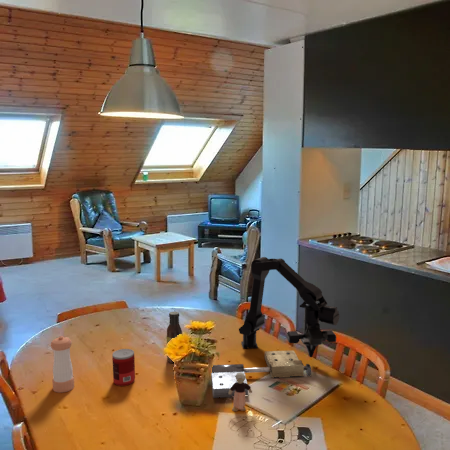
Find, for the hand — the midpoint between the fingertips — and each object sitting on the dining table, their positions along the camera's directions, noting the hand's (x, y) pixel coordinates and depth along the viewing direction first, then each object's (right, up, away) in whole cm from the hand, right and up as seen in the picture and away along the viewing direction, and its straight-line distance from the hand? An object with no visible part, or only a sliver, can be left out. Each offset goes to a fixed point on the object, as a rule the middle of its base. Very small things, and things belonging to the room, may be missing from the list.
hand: (310, 356), depth 187 cm
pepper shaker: (-92, -6, -19) cm, 94 cm away
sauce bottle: (-54, -2, +3) cm, 54 cm away
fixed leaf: (-20, -5, -16) cm, 26 cm away
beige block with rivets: (-11, -3, -3) cm, 12 cm away
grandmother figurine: (-29, -8, -32) cm, 44 cm away
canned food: (-71, -5, -14) cm, 73 cm away
